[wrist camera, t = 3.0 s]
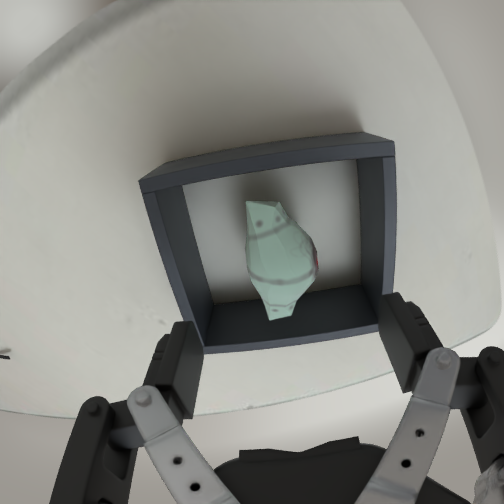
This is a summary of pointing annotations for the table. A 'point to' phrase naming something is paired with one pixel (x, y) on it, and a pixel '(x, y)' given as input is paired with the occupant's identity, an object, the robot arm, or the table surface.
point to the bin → (309, 304)
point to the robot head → (278, 257)
